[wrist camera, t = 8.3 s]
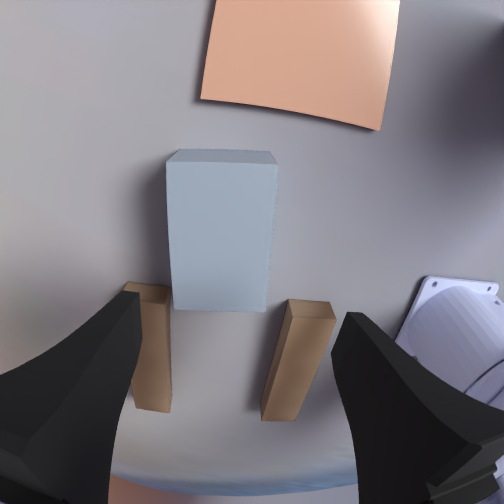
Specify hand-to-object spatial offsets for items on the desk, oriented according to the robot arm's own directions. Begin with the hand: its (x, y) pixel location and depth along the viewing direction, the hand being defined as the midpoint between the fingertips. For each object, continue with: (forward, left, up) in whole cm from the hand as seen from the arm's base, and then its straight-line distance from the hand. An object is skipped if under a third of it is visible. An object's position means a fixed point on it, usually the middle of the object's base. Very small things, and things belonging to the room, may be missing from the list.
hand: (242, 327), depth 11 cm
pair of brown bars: (0, +11, -9) cm, 14 cm away
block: (+1, 0, -10) cm, 10 cm away
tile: (-2, -12, -9) cm, 15 cm away
